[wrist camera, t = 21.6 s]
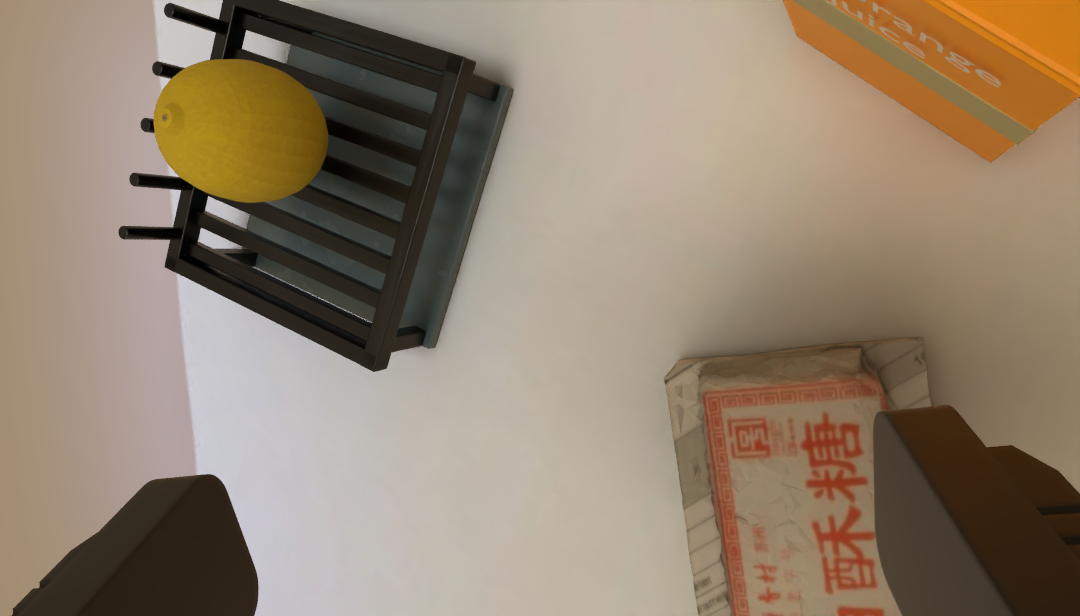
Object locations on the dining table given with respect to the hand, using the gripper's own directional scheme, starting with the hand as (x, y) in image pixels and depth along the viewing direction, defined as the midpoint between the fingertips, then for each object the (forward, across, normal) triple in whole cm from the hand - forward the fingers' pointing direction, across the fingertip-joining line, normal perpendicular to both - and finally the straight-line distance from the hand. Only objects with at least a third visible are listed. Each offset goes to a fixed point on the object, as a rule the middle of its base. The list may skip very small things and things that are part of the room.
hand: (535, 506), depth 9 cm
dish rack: (+30, +12, +1) cm, 32 cm away
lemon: (+26, +12, -2) cm, 29 cm away
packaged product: (+19, -7, +17) cm, 27 cm away
